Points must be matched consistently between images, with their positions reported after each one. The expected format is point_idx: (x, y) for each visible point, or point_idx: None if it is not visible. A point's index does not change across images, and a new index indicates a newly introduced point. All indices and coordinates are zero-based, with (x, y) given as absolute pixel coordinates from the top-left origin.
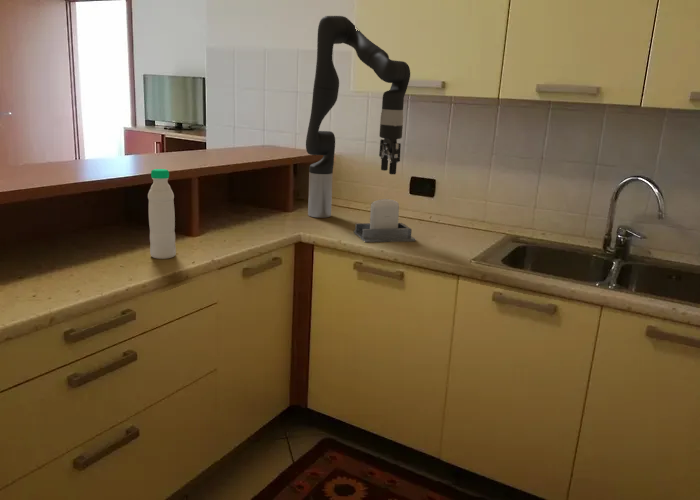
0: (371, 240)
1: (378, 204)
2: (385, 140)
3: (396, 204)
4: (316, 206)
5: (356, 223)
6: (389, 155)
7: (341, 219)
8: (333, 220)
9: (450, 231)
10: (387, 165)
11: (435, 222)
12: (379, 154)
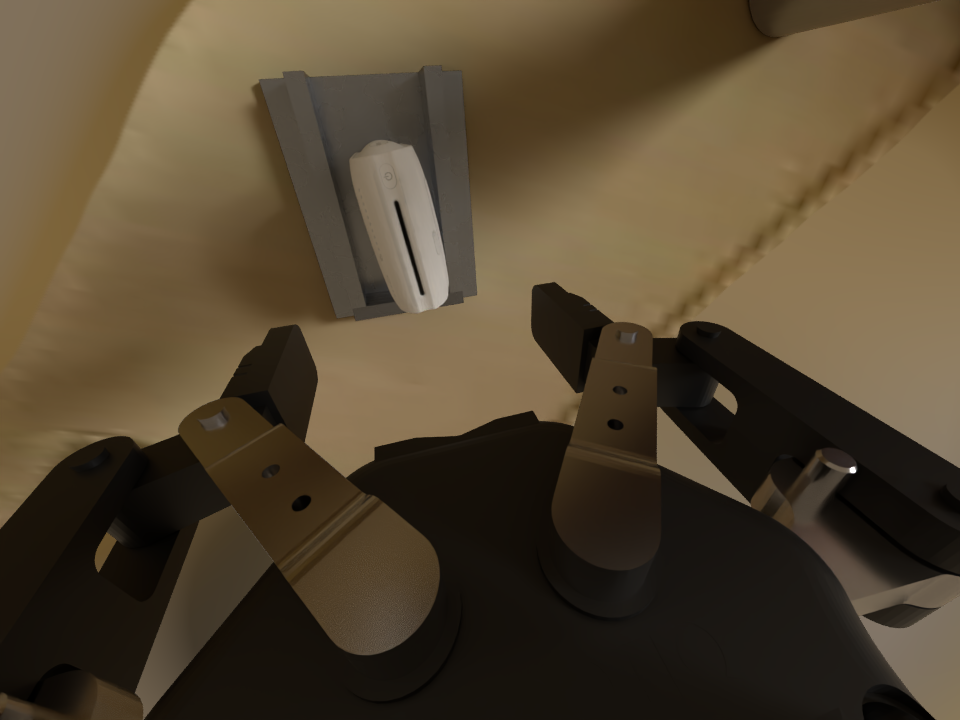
0: (273, 120)
1: (359, 187)
2: (727, 686)
3: (396, 300)
4: None
5: (438, 70)
6: (210, 467)
7: (696, 79)
8: (692, 24)
9: (477, 425)
10: (548, 356)
11: (578, 404)
12: (711, 331)
